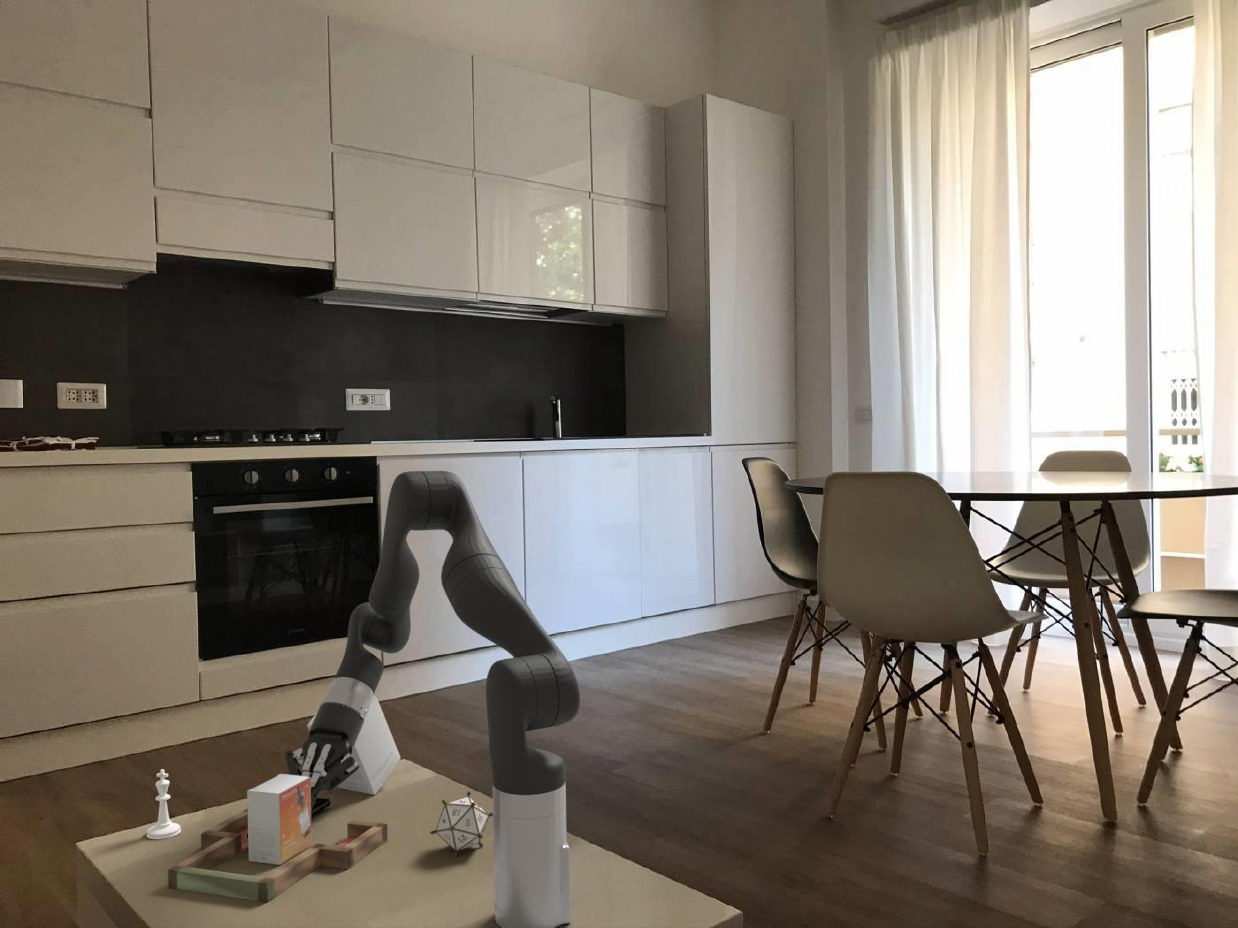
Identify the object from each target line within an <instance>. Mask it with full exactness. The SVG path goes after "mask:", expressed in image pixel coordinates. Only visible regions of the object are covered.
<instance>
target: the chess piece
mask: <svg viewBox="0 0 1238 928" xmlns="http://www.w3.org/2000/svg"><path fill="white" fill-rule="evenodd" d="M156 777H157V778H160V780H158V781H156V782H155V787H156V789H157V793H158V795H157V796H156V797H155V801H158V802H159V809H158V816H157V817H158V818H157V822H155V825H153V826H151V827H149V828H148V829H147V831H146V837H147V839H151V840H164V839H169V838H172V837H175V836H177V835H179V834H181V832H182V829H181V824H178V823H176V822H172V820H170V815H169V810H168V809H169V808H168V803H167V802H168V801H167V800H169V799H170V798H171V795H170V794H168V793H167V792H168V790H169V789H168V788H169V786H170V780H168V779H165V778H167V777H169V773H167V772H166V773H165V769H162V768H161V769H160V770H159V772H158V773H156Z"/></svg>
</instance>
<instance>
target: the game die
mask: <svg viewBox="0 0 1238 928" xmlns="http://www.w3.org/2000/svg"><path fill="white" fill-rule="evenodd" d="M470 796H471V791H470V790H469V791H467V792H466V796H464V797H461V798H458V799H454V800H452V801H448V802H447V801H446V800H445V799H441V803H442V805H443V808H442V811H441V813H440V816H439V819H438V822H437V824H436V828H435V829H434V830H431V831H430V832H429V834H430V835H434V834H437V836H439V838H441V839H442V840H443V841H444V842H445V843H446V844H447V845H448V846H449V847H450V848H451V849H453V850H454V852H453V853H454V854H453V856H454V858H456V857H457V856H458V854H459V851H462V850H464V849H468V848H470V847H473V846H475V845H478V846H479V847H480V848H481V847H482V848H483V846H484V845H483V843H482V842H481V841H482V839H484V832H485V829H486V827H487V823H488V821H489V817H493V812H491V813H490V812H489V813H488V811H486V810H484V809H483V808H482V807H481V806H480V805H479V803H477V802H476V801H475V800H474V799H473V798H471V797H470Z"/></svg>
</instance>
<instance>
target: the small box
mask: <svg viewBox="0 0 1238 928" xmlns="http://www.w3.org/2000/svg"><path fill="white" fill-rule="evenodd" d="M246 796H247V797H246V800H247V803H246V805H247V806H246V807H247V808H248V847H247V848H248V849H247V850H248V861H249V862H251V863H252V862H253V863H263V864H269V865H278V866H280V865H283V864H285V862H288V860H290V859H291V858H293V857H294V856H296V855H298V854H299V853H301V852H304V851H305V850H307V849H309V848H311V847H312V846H313V845H312V843H313V841H312V840H313V838H312V836H313V835H312V810H311V779H310V777H306V776H297V775H290V774H286V773H285V774H284V773H280V774H277V775H276V776H274V777H273V778H271V779H269V780H267V781H265V782H263V783H260V784H258V785H257V786H254V787H253V788H250V789H248V790H247V791H246Z"/></svg>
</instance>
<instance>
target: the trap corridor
mask: <svg viewBox="0 0 1238 928" xmlns="http://www.w3.org/2000/svg"><path fill="white" fill-rule="evenodd" d="M346 826H347V827H346V828H347V831H346V832H347V837H346V838H345V839H344V840H342V841H341V842H339V843H338V844H336V845H333V844H324V843H315V844H314V845H311V846H310V847H308V848H307V849H305V850H304V851H302V853H300V854H299V855H297V856H296V857H294V858H293V859H291V860H290V861H287V863H284V864H282V866H280V867H279V868H277V869H276V870H274V871H273V872H271V873H270V874H268V875H267V876H266V877H262V876H257V875H256V876H254V875H247V874H241V873H235V872H233V873H232V872H225V871H220V870H219V871H218V870H212V869H214V868H215V867H217V866H218V865H219V866H220V865H221V864H222V863H224V862H226V861H227V860H229V859H230V858H232V857H234V856H235V855H237V854H238V853H240V852H242V851H244V850H246V849H247V848H248V839H247V835H246V834H247V833H248V807H247V808H245V809H244V810H242V811H240V812H239V813H237V814H235V815H233V816H232V817H228V818H227V819H226V820H223V821H221V822H220V823H217V824H216V825H215V826H212V827H210V828H209V829H206V830H205V831H204V832H202V833H201V834H200V851H199V852H197V853H195V854H194V855H192V856H190V857H188V858H187V859H184V860H182V861H181V862H179V863H178V864H175V865H174V866H173V867H170V868H168V869H167V881H168V882H167V884H168V885H167V887H168V889H171V890H172V889H174V890H180V891H187V892H193V893H200V894H207V895H215V896H222V897H228V898H234V899H235V898H236V899H242V900H243V899H244V900H249V901H256V902H257V901H258V902H261V903H262V902H264V903H270V901H272V900H273V899H275V898H276V897H278V896H279V895H281V894H283V892H285V891H286V890H288V889H289V888H291V887H292V886H293V885H295V884H297V883H298V882H300V881H301V880H302V879H304V878H305V877H306V876H308V875H310V874H311V873H312V872H314V871H315V870H317V869H318V868H319V867H326V868H335V869H342V870H349V869H350V868H351V867H354V865H356V864H358V862H359V861H361V860H363V859H364V858H365V857H367V856H368V855H370V853H372V852H373V851H375V850H376V849H378V848H379V847H380V846H382V845H383V844H384V843H386V842H387V841H388V837H389V836H388V823H383V822H382V823H381V822H374V821H364V820H355V819H352V820H350V821H349V822H348V823H346Z"/></svg>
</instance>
